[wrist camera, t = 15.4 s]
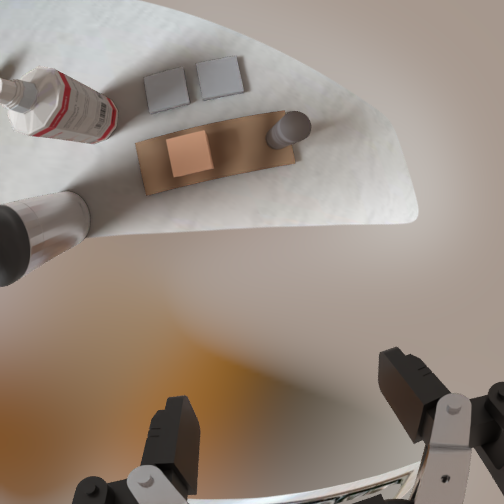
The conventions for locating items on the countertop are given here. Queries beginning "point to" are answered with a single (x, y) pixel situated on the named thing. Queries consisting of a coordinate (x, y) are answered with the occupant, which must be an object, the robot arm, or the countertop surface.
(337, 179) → the countertop surface
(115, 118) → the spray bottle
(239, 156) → the pull strip
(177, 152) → the terracotta block
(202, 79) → the broken strip
